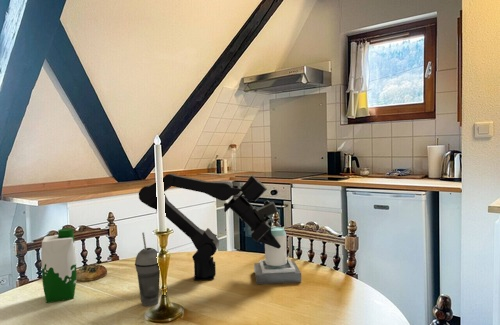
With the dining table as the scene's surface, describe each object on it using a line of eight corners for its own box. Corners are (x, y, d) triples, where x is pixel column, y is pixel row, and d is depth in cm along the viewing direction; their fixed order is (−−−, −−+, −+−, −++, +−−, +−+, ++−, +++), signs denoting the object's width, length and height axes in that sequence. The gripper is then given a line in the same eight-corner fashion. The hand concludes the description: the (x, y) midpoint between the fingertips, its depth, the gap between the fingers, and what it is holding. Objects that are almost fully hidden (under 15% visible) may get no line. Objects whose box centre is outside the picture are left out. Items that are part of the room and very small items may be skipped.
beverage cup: (156, 309, 100) (153, 235, 99) (131, 307, 101) (128, 235, 100) (167, 298, 107) (164, 229, 106) (144, 297, 108) (141, 229, 108)
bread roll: (112, 270, 134) (110, 257, 133) (100, 285, 123) (98, 271, 122) (81, 272, 134) (79, 259, 133) (67, 288, 123) (64, 274, 122)
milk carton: (77, 299, 108) (73, 231, 108) (41, 305, 105) (38, 235, 104) (78, 289, 116) (75, 226, 116) (45, 294, 113) (42, 229, 112)
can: (267, 268, 118) (266, 231, 118) (263, 261, 125) (263, 226, 125) (288, 267, 119) (288, 230, 118) (284, 260, 126) (283, 225, 125)
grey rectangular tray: (257, 284, 116) (256, 271, 116) (254, 271, 128) (254, 259, 127) (301, 282, 116) (301, 269, 116) (294, 269, 128) (294, 257, 128)
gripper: (261, 197, 112) (298, 233, 112) (263, 190, 131) (295, 221, 130) (236, 223, 113) (273, 259, 112) (241, 212, 131) (273, 243, 131)
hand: (279, 244), depth 122 cm, fingers closed on can, 7 cm apart
